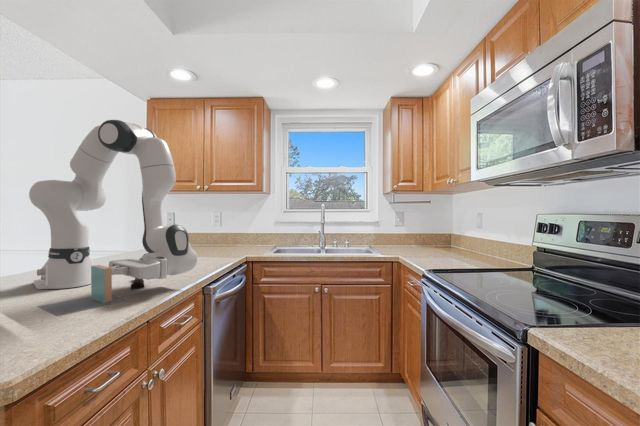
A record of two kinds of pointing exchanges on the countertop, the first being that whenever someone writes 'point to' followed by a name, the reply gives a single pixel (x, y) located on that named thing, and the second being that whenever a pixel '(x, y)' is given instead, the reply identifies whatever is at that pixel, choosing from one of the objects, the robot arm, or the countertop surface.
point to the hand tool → (138, 284)
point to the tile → (101, 283)
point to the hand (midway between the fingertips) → (106, 271)
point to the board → (78, 305)
